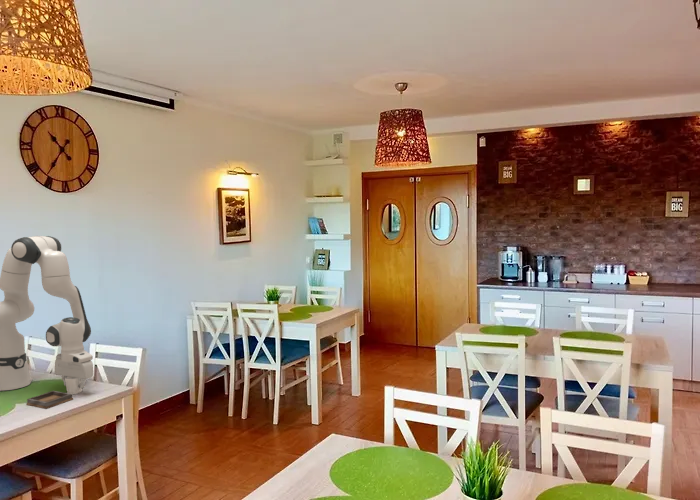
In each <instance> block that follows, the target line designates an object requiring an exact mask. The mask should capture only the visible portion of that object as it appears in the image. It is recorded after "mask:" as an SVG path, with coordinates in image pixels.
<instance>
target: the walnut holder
mask: <svg viewBox="0 0 700 500" xmlns="http://www.w3.org/2000/svg"><path fill="white" fill-rule="evenodd" d="M72 400H74V397H73V394H69V393H67V392H61V391H57V390H50V391H47V392H45V393H41V394H39V395H36V396H32V397H30V398H27V399H26V401H27V402H26V406H29V407H35V408H40V409H45V410H47V409H51V408H53V407H56V406H58V405H61V404H64V403H66V402H69V401H72Z"/></svg>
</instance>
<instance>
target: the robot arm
mask: <svg viewBox="0 0 700 500" xmlns="http://www.w3.org/2000/svg"><path fill="white" fill-rule="evenodd" d="M35 263H36V264H38V265H39V267H40V273H41V274H40V275H41V276H40V277H41V284H42V288H43V290H44V292H46V293H47V294H49V295H51V296H52V297H57V298H59V299H60V298H61V299H63V300H66V301H67V302H68V304H69V305H70V309H71V313H72V317H64V318H62V319H61V320H60V322H59V323H56V324H53V325H50V326H49V327H48V328H47V330H46V331H45V339H46V342H47V344H48V345H50V346H51V347H60V353H58V354H57V355H56V357H55V360H54V374H55V375H56V376H61V379H62V382H63V385H64V386H65V387H66V381H65V377H66V376H67V377H73V378H79V379H80V381H81V382H80V384H78V386H79V388H81V389H84V388H85V383H86V381H87V380H88V379H92V378H93V377H94V363H93V361H92V360H93V354H91V353H90V352H88V351H87V350H85V347H84V344H83V343H85V342H86V341H88V340H89V338H90V336H91V334H92V329H91V326H90V323H89V321H88V318H87V314H86V311H85V306H84V302H83V299H82V295H81V293H80V289H79V288H78V286H76V285H74V284H73V282H72V279H71V272H70V271H71V270H70V266H69V262H68V258H67V255H66V254H65V253H64V252H63V251H62V243H61V242H60V240H59V239H58V238H56V237H53V236H49V235H46V236H45V235H34V236H24V237H20V238H18V239H15V240H14V241H13V243H12V244H11V247H10V248H9V249H8V250H7V252H6V254H5V257H4V259H3V262H2V266H1V271H0V290H1V291H3V294H4V295H3V296H4V299H3V301H0V392H1V391H11V390H12V391H13V390H17V389H20V388H24V387H27V386H29V385H30V384H31V383H32V382H33V381H34V378H33V377H31V372H30V371H31V370H30V366H29V363H27V358H28V356H27V353H26V350H25V349H26V348H25V347H26V344H25V336H24V335H23V334H22V333H20V332H19V331H18V329H17V326H16V324H17V323H18V324H19V323H21V322H24V321H26V320H27V319H29V318H31V317H32V316H33V314H34V312H35V304H34V303H33V302H32V300H31V299H30V297H29V296H30V295H29V290H28V289H29V283H30V276H31V272H32V266H33V265H34V264H35Z"/></svg>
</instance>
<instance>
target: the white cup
mask: <svg viewBox="0 0 700 500" xmlns="http://www.w3.org/2000/svg"><path fill="white" fill-rule="evenodd" d="M65 381H66V386H65V388H66V393H69V394H72V395H76V393H77V394H80V393H82V391H83V390H82V389H83V388H82V389H81V388H79V386H78V384H80V382H81V381H80V379H79V378H73V377H67V376H66V377H65Z"/></svg>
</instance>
